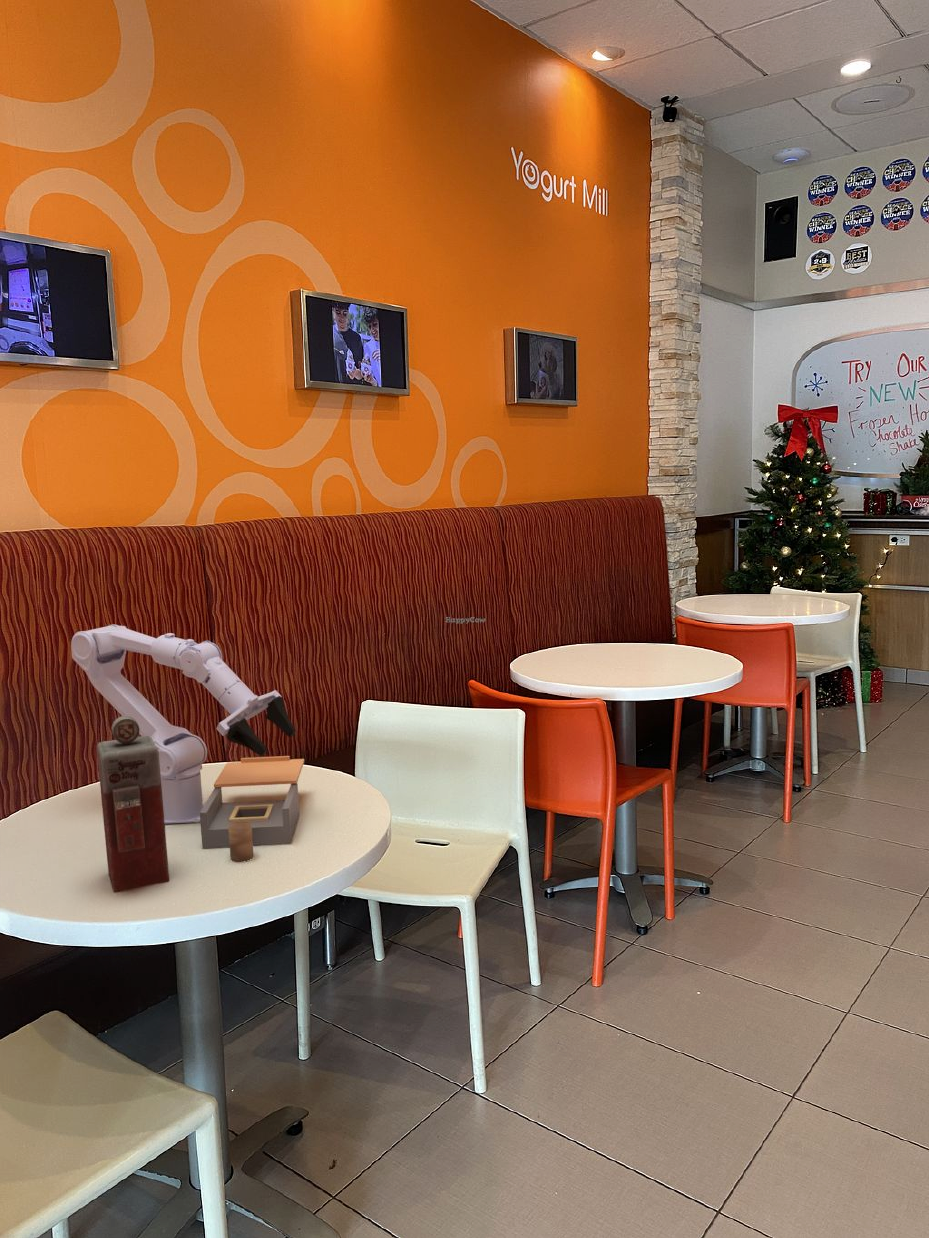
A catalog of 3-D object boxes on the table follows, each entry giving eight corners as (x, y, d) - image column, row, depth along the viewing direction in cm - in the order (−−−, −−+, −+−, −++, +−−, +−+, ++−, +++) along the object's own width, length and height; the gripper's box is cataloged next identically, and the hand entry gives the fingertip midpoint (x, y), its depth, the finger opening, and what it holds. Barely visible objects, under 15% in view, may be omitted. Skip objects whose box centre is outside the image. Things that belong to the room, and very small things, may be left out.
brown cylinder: (228, 862, 164) (226, 830, 163) (232, 853, 168) (230, 821, 167) (251, 861, 164) (249, 829, 163) (255, 852, 168) (253, 820, 167)
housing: (202, 848, 171) (199, 812, 170) (217, 820, 185) (215, 787, 183) (290, 843, 172) (288, 808, 171) (299, 816, 185) (297, 783, 184)
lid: (213, 787, 182) (213, 780, 182) (227, 765, 196) (226, 758, 196) (296, 783, 183) (296, 776, 183) (304, 761, 197) (303, 755, 197)
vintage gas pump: (114, 898, 152) (99, 730, 147) (108, 872, 162) (93, 714, 157) (171, 886, 155) (158, 722, 151) (162, 861, 165) (149, 707, 161)
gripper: (207, 696, 170) (257, 749, 167) (265, 664, 180) (312, 714, 178) (197, 718, 174) (245, 770, 171) (254, 686, 185) (300, 734, 182)
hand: (278, 743), depth 175 cm, fingers open, 7 cm apart
